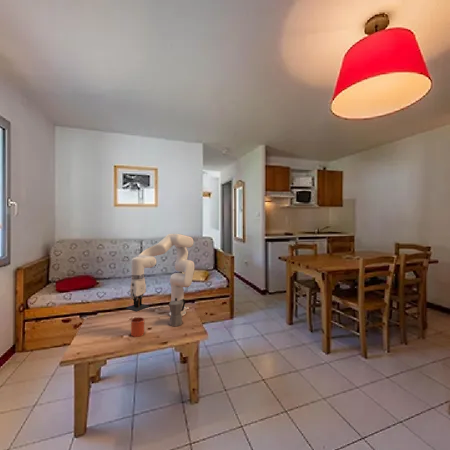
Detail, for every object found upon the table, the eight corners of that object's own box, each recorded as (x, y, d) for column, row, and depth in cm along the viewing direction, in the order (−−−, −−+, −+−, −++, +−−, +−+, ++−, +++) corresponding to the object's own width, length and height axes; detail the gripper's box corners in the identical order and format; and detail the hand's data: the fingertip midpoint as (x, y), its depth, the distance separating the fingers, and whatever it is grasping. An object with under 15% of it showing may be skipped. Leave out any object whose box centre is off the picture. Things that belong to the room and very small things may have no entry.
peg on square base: (139, 304, 161) (139, 295, 161) (149, 307, 156) (149, 297, 156) (125, 308, 152) (125, 299, 152) (136, 311, 147) (136, 302, 147)
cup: (141, 329, 160) (141, 316, 160) (146, 334, 154) (146, 319, 154) (129, 333, 155) (129, 319, 155) (134, 338, 149) (134, 323, 149)
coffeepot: (173, 329, 162) (173, 302, 161) (164, 325, 167) (164, 299, 167) (189, 321, 174) (189, 296, 174) (180, 318, 180) (180, 293, 179)
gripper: (134, 280, 145) (134, 311, 145) (150, 274, 160) (150, 302, 161) (124, 279, 147) (123, 309, 147) (140, 273, 163) (140, 301, 163)
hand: (137, 305), depth 154 cm, fingers closed on peg on square base, 2 cm apart
